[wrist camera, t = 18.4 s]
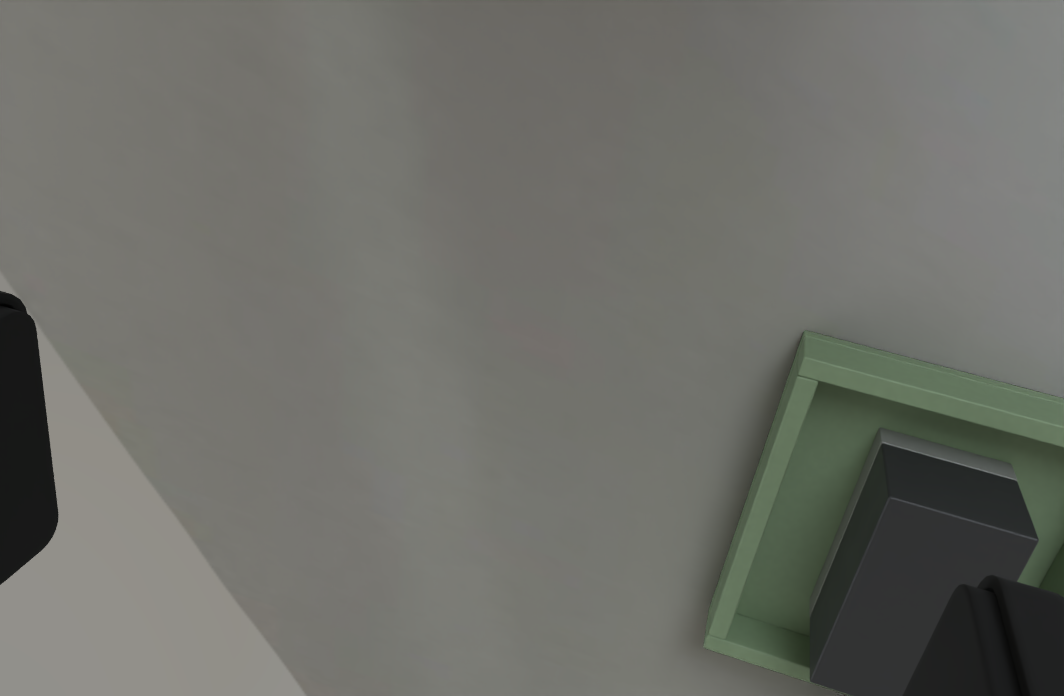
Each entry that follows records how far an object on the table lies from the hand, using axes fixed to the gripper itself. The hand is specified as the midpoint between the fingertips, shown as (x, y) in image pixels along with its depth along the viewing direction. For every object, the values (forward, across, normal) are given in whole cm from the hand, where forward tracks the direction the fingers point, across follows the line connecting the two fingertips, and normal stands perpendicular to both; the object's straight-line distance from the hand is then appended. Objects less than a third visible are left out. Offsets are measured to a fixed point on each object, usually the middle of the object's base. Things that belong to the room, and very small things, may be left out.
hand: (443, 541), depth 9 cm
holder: (+27, -12, +16) cm, 34 cm away
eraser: (+26, -12, +16) cm, 33 cm away
